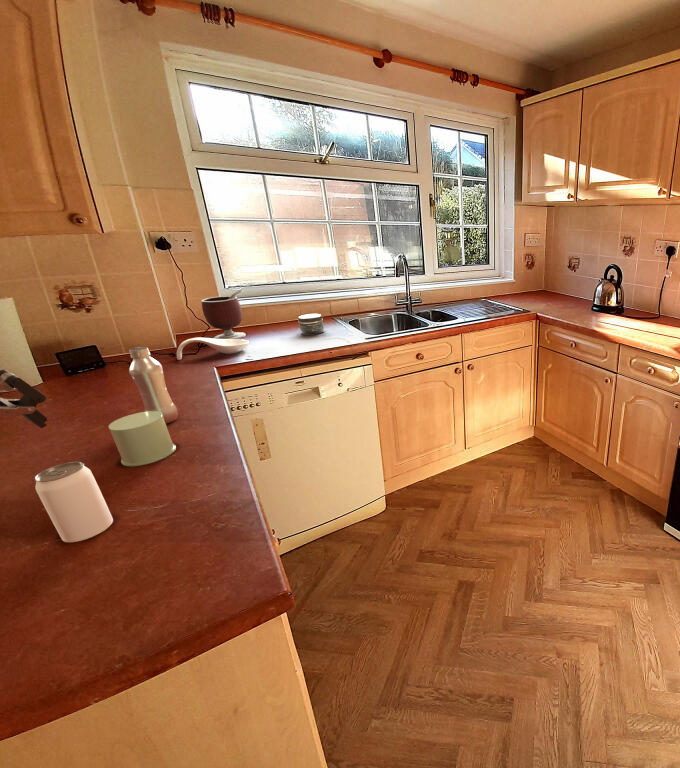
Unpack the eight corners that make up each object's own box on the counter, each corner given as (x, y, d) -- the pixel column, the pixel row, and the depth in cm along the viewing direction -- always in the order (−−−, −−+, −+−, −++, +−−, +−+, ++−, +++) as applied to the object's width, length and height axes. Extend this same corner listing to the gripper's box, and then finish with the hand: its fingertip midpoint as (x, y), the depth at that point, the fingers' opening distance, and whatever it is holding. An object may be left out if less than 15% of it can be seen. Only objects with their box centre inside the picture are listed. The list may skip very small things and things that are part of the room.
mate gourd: (208, 343, 179) (193, 295, 171) (215, 335, 191) (202, 290, 183) (249, 338, 184) (237, 292, 177) (253, 331, 196) (243, 288, 189)
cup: (139, 471, 88) (123, 433, 85) (112, 463, 92) (96, 426, 88) (186, 449, 97) (174, 414, 93) (159, 442, 100) (147, 407, 97)
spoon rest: (249, 345, 175) (245, 328, 172) (251, 352, 166) (247, 334, 163) (179, 356, 163) (173, 338, 160) (177, 364, 154) (170, 345, 151)
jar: (328, 332, 193) (325, 315, 190) (306, 336, 186) (302, 319, 184) (319, 328, 200) (316, 312, 197) (297, 332, 193) (294, 316, 190)
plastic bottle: (147, 430, 106) (118, 354, 98) (151, 420, 111) (123, 347, 103) (179, 424, 109) (153, 350, 101) (181, 414, 114) (156, 343, 107)
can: (93, 543, 69) (63, 481, 65) (51, 545, 69) (17, 484, 64) (123, 516, 75) (98, 458, 71) (85, 519, 75) (56, 461, 70)
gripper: (-42, 329, 53) (41, 400, 66) (-206, 408, 45) (-74, 472, 57) (4, 356, 53) (79, 422, 65) (-154, 442, 44) (-32, 499, 57)
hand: (7, 445), depth 61 cm, fingers open, 8 cm apart
